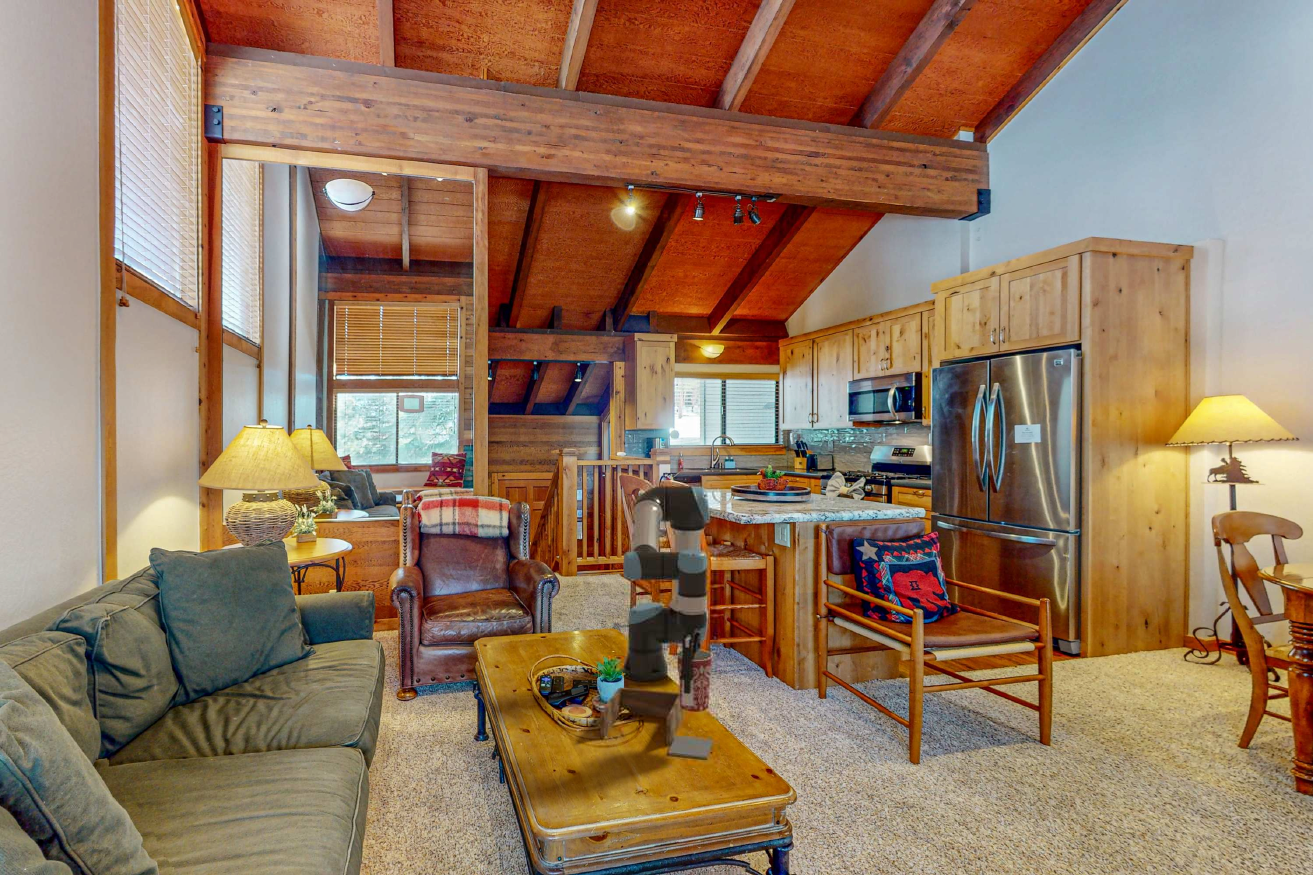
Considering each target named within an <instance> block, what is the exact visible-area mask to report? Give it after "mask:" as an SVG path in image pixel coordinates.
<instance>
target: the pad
mask: <svg viewBox="0 0 1313 875" xmlns="http://www.w3.org/2000/svg"><path fill="white" fill-rule="evenodd" d="M713 742H714V739H710V738H701V737H694V736H693V737H692V736H686V735H685V736H684V735H683V736H682V735H675V736H674V738H673V741H672V743H671V745H670V747H669V749H668V752H667V755H668V756H673V757H674V756H675V757H682V758H692V759H701V760H708V758H709V756H710V755H709V754H710V752H711V748H712V746H713Z"/></svg>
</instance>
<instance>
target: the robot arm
mask: <svg viewBox="0 0 1313 875" xmlns="http://www.w3.org/2000/svg"><path fill="white" fill-rule="evenodd" d="M631 515H632V519H633V522H634V526H633V537H632V538H633V539H632V547H631V548H632V549H631V550H632V551H626V552H625V553H624V554H623V577H624V579H626V580H635V581H654V580H655V581H661V580H662V581H673V599H672V600H671V601H670V602H669V605H668V606H669V607H665V608H664V605H663V603H662V602H654V601H653V602H652V601H651V602H644V603H639V604H636V605H634V606H632V607H631V608H630V609H629V612H628V620H627V624H628V637H627V639H628V640H627V641H628V642H627V644H628V645H627V646H628V648H627V654H626V657H625V661H624V663H623V666H622V673H623V672H624V673H625V676H624V678H626V679H628V680H632V681H635V682H655V681H660V680H664V679H665V678H666V677H667V676H668V671H669V670H668V663H667V661H666V657H665V655H664V652H663V651H664V650H663V648H664V646H663V645H665V644H669V645H670V644H672V645H674V644H675V645H682V647H681V648H682V649H681V651H682V667H681V677H679V676H678V678H679V679H678V680H682V705H687V706H693V665H692V660H694V655H695V653H696V652H697V651H698V649H700V650H702V643H703V642H705V640H706V636H707V631H708V624H709V622H708V621H709V609H708V595H707V588H708V587H707V583H708V580H707V578H708V577H707V576H708V555H707V553H706V552H705V551H703V550H701V543H702V542H701V541H702V540H701V539H702V536H701V534H702V531H704V530H705V529H706V523H707V524H708V523H710V522H711V516H710V507H709V498H708V491H707V490H706V488H705V487H703V486H693V485H676V486H674V485H673V486H672V485H670V486H669V485H659V486H658V485H657V486H655V487H651V488H650V489H647V490H646V491H644V492H643V493H642V494H641V495H639V497H638V498H637V499H636V501H635V503H634V504H633V506H632V514H631ZM660 522H664V523H667V522H668V523H670V524H669V527H670V529H671V530H672V531H673V532H674V551H659V548H660V546H659V544H660V541H659V540H660ZM666 675H667V676H666Z"/></svg>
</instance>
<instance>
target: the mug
mask: <svg viewBox="0 0 1313 875" xmlns="http://www.w3.org/2000/svg"><path fill="white" fill-rule="evenodd" d="M713 657H714V655H713V653H712V652H710V651H707V650H704V649H701V650H700V649H698V651H697V652H696V653H695V655H694V660H692V665H693V706H687V705H682V680H679V679H678V680H679V682H678V683H679V693H680V706H681V708H682V709H683V711H686V712H691V713H700V712H704V711H706V710H708V709H709V702H710V691H711V690H710V689H711V688H710V687H711V674H712V673H711V672H712V659H713ZM681 667H682V650H680V651H679V652H677V672H678V678H679V677H681Z"/></svg>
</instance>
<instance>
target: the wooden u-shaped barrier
mask: <svg viewBox="0 0 1313 875" xmlns="http://www.w3.org/2000/svg"><path fill="white" fill-rule="evenodd" d="M621 707H623V708H624V709H626V710H628V711H629V713H632V714H631V715H636V716H637V715H638V716H645V717H648V716H649V717H657V718H666V737H665V738H666V739H665V740H666V741H665V742H666V744H665V745H666V746H670V747H671V745H672V743H673V740H674V738H675V736H676V734H677V732H678V730H679V728H680V725H681V723H682V720H683V718H684V709H682V708H681V706H680V692H671V691H661V690H650V689H639V688H631V687H620V688H619V689H618V688H617V689H616V691H615V692H614V693H613V695H612V696H611V697H610V699H609V700H608V702H607V703H606V704H605V705H604V707H603V708H602V709H601V710H600V727H599V728H600V734H599V735H600V739H605V738H606V736H607V735H608V733H609V732H610V731H611V729H612V727H614V724H616V722H617V720H618V719H617V717H618V715H619V713H620V710H621ZM618 718H619V717H618ZM616 719H617V720H616ZM615 721H616V722H615Z"/></svg>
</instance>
